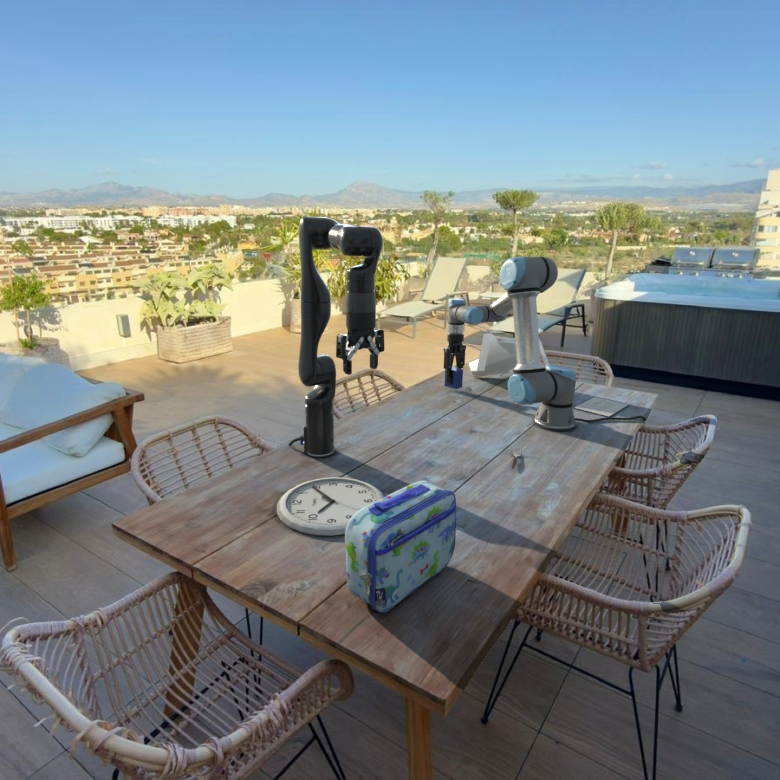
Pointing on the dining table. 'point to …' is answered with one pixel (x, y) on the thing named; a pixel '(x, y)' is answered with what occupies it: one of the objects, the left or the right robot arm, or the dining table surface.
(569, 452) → the dining table surface
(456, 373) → the block
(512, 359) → the white plastic object
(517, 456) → the fork
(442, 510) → the lunch box
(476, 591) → the dining table surface
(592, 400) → the invitation card
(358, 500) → the wall clock
